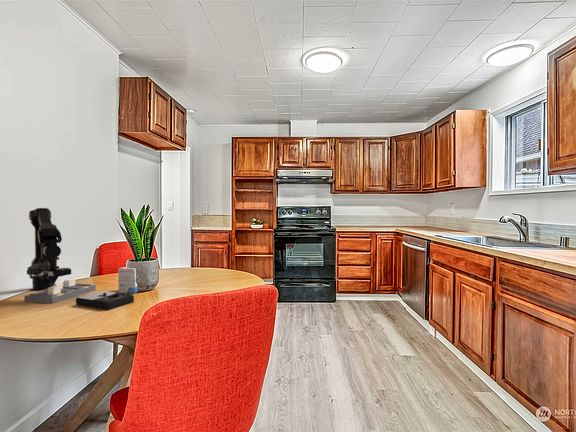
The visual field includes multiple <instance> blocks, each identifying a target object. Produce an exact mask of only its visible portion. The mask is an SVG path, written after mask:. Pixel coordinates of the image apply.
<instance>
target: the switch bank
mask: <svg viewBox="0 0 576 432" xmlns="http://www.w3.org/2000/svg"><path fill="white" fill-rule="evenodd" d="M96 288H97V287H96V285H95V284H91V283H76V282H75V285H74V286H70V287H64V285H63V289H61V293H58V294H55V295H49V294H48V290H47V289H44V290H40V291H37V292H34V293H29V294H27V295H24V296H23V297H24V303H25V302H26V303H42V304H56V303H58V302H61V301H65V300H69V299H72V298H75V297H80V296H83V295H85V294H89V293H90V292H94V291H96V290H97V289H96Z"/></svg>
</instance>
